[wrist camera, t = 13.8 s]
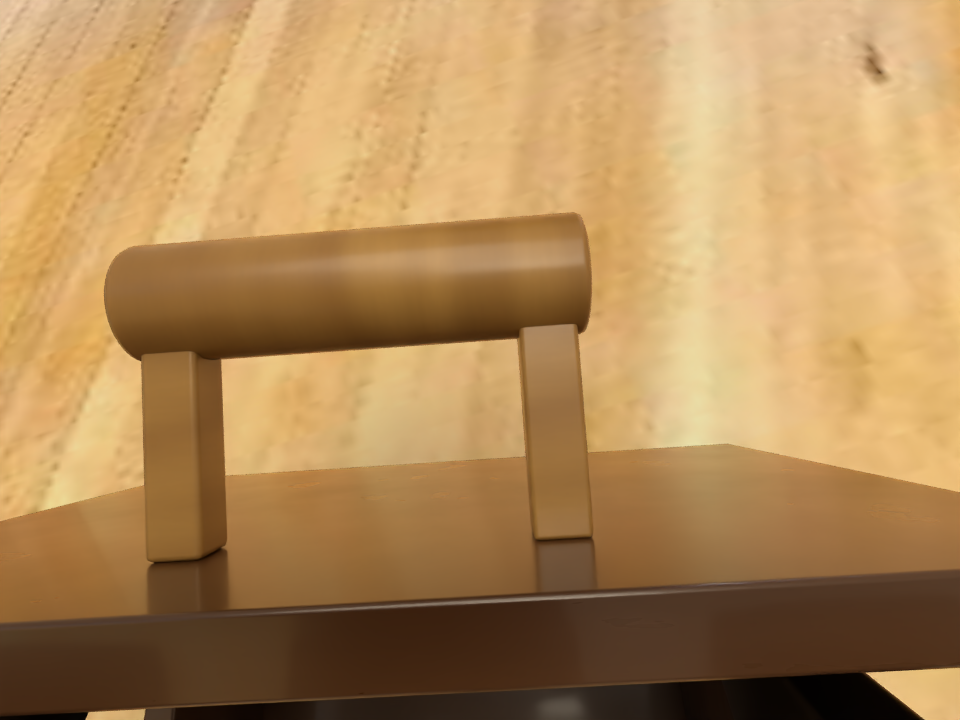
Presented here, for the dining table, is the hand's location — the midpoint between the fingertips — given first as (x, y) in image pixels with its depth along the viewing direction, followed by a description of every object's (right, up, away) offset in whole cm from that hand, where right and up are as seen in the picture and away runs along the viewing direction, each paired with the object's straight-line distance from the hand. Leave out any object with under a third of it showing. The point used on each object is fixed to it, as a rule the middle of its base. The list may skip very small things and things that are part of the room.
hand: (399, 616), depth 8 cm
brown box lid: (0, 0, +2) cm, 2 cm away
